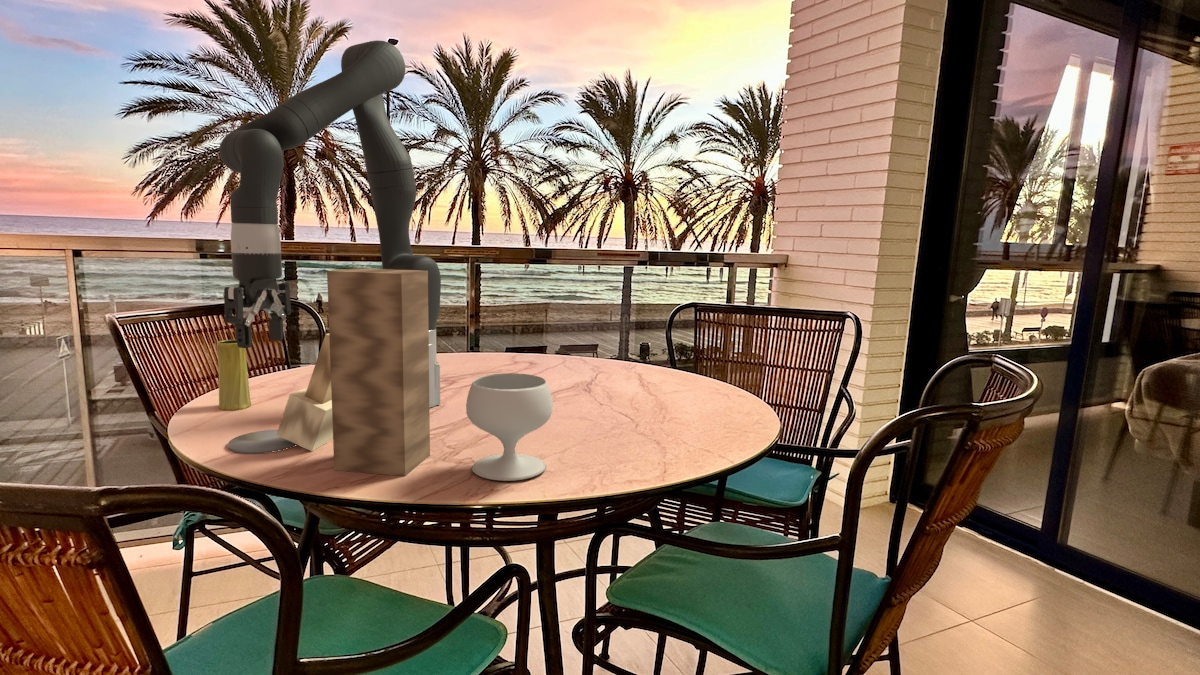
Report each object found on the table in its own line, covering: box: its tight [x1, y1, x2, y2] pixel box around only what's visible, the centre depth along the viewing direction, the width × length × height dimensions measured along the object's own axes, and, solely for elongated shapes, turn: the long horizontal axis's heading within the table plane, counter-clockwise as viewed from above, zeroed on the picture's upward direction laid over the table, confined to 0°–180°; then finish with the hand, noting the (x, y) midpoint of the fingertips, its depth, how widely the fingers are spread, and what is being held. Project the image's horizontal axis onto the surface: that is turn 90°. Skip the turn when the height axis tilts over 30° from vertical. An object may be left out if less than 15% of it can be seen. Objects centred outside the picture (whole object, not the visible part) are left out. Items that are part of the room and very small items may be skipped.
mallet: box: [276, 333, 333, 452], centre depth 113 cm, size 20×7×7 cm
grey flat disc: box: [227, 429, 298, 455], centre depth 115 cm, size 12×12×1 cm
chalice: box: [465, 372, 554, 482], centre depth 104 cm, size 14×14×15 cm
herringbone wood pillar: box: [326, 267, 431, 477], centre depth 104 cm, size 12×10×32 cm
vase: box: [216, 339, 252, 411], centre depth 136 cm, size 6×6×14 cm
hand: (261, 343), depth 112 cm, fingers open, 8 cm apart
